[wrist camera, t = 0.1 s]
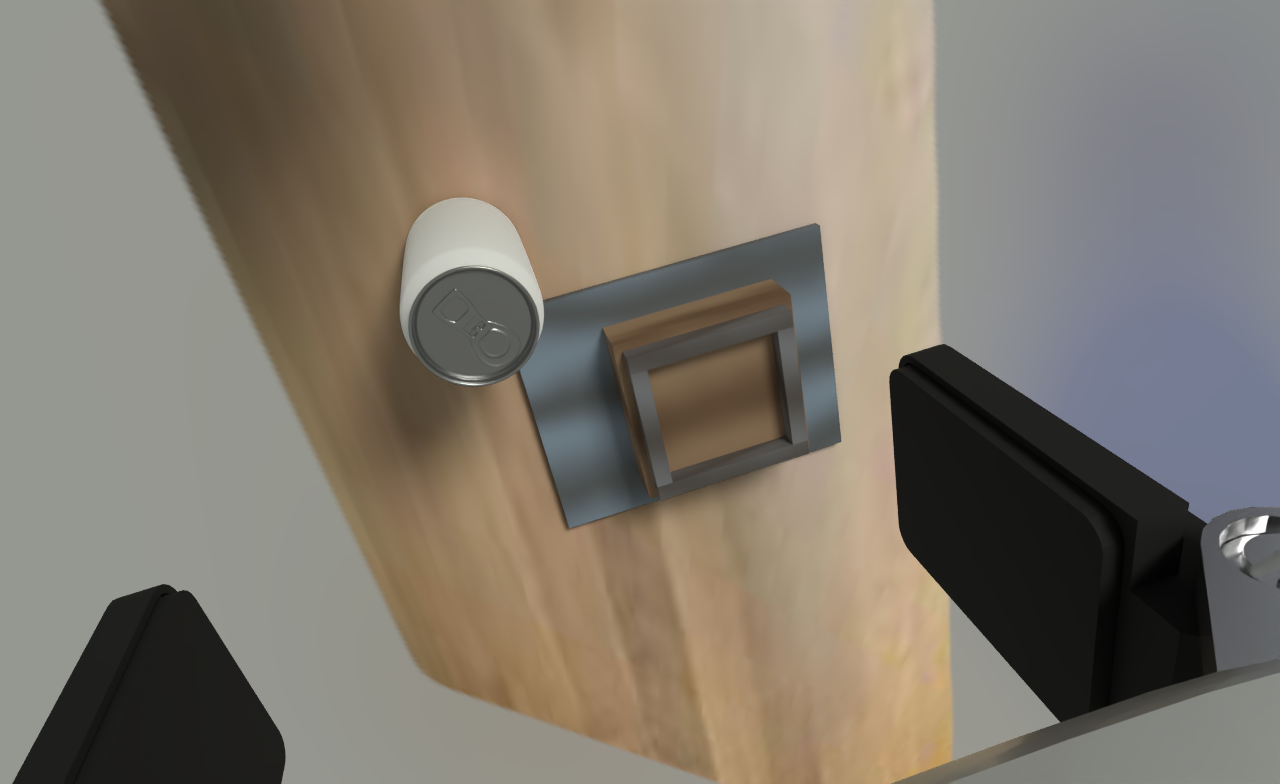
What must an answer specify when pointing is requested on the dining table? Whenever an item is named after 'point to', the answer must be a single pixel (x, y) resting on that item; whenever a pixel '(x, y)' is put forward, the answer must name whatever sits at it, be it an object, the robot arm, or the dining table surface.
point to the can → (469, 294)
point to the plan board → (590, 379)
